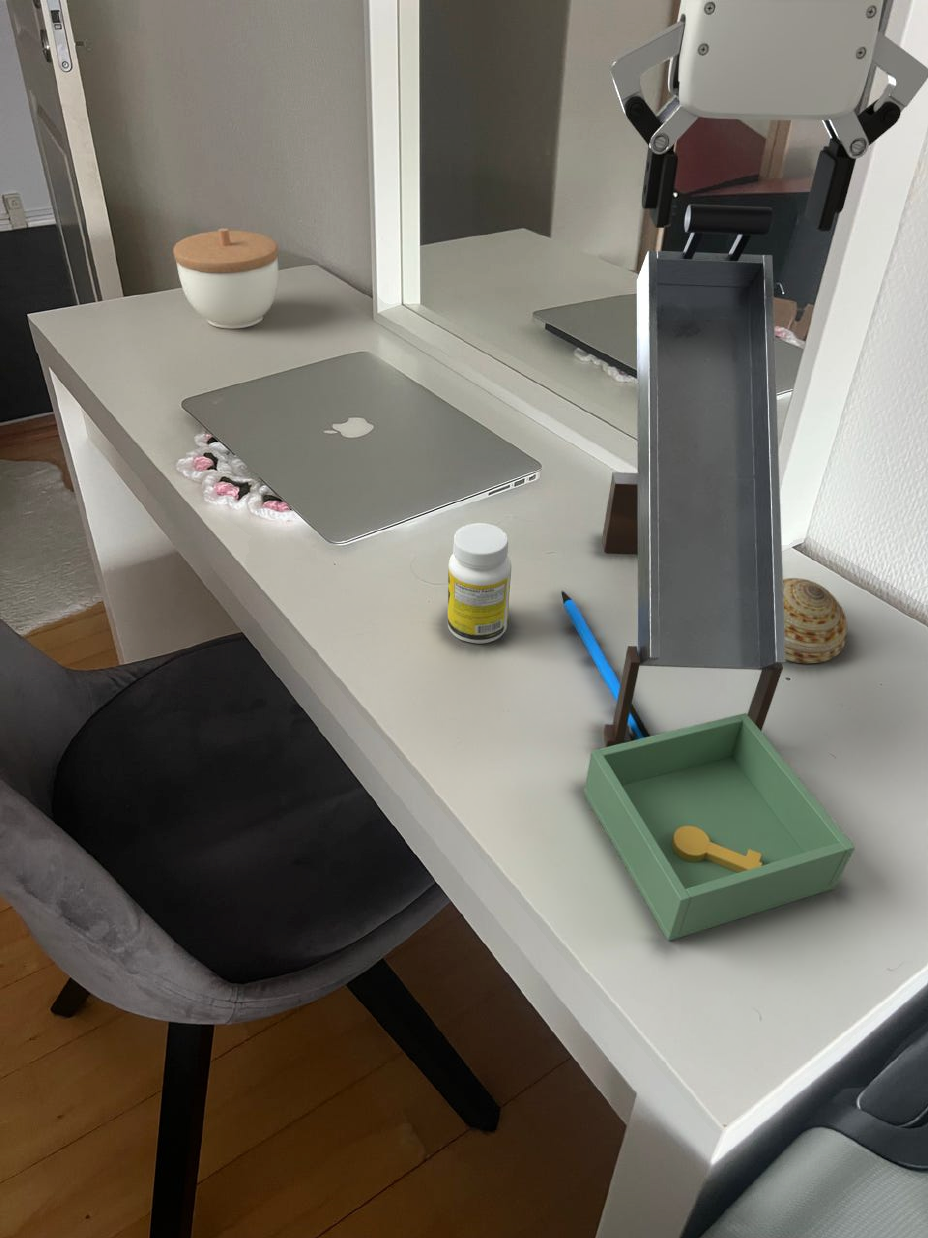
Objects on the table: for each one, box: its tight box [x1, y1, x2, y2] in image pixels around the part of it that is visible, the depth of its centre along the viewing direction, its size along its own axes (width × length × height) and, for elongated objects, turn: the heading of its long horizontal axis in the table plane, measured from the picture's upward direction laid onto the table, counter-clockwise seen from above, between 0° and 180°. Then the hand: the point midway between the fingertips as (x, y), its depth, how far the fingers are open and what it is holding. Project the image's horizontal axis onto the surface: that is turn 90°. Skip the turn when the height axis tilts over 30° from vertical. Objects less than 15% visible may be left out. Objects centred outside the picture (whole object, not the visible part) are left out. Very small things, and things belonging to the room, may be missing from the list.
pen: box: [560, 590, 651, 740], centre depth 67 cm, size 1×19×1 cm, turn 15°
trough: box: [636, 203, 787, 671], centre depth 57 cm, size 28×8×8 cm
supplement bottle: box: [447, 522, 512, 645], centre depth 69 cm, size 5×5×8 cm
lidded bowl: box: [172, 227, 279, 330], centre depth 115 cm, size 13×13×11 cm
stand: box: [601, 471, 784, 748], centre depth 69 cm, size 25×11×8 cm, turn 179°
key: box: [672, 826, 763, 873], centre depth 55 cm, size 5×2×1 cm, turn 63°
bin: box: [583, 712, 855, 942], centre depth 55 cm, size 11×11×4 cm
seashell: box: [783, 577, 848, 664], centre depth 72 cm, size 8×6×8 cm
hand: (737, 222), depth 55 cm, fingers open, 9 cm apart
